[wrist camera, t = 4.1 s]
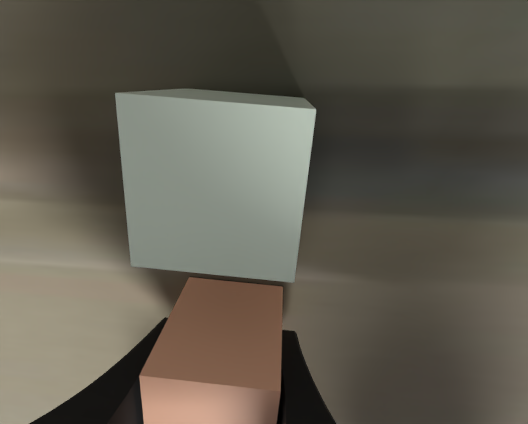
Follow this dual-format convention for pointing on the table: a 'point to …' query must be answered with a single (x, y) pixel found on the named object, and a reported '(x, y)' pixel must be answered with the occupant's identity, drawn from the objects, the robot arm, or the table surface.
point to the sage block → (215, 180)
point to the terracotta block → (217, 357)
